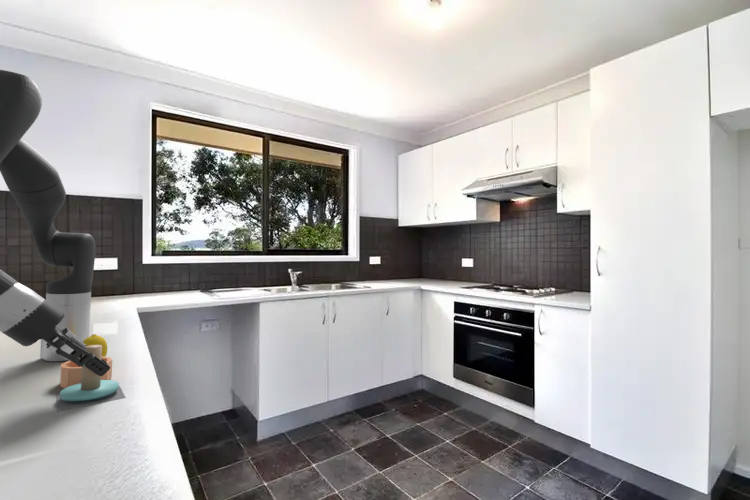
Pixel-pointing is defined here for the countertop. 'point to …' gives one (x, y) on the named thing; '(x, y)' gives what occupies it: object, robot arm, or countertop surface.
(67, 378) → the bowl
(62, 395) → the lid
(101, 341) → the lemon
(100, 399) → the mat
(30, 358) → the countertop surface
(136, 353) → the countertop surface
